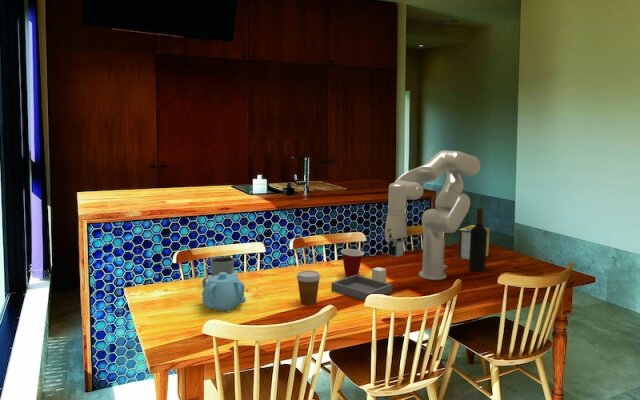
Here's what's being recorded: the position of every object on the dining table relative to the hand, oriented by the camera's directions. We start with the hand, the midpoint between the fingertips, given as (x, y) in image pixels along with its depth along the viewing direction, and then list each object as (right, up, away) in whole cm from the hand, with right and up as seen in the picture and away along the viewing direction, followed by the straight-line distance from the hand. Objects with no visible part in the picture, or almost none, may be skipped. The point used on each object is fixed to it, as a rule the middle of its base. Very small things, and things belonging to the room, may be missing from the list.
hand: (395, 253), depth 228 cm
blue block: (0, -1, 0) cm, 1 cm away
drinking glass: (-75, -15, +4) cm, 77 cm away
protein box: (+49, -7, +53) cm, 72 cm away
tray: (-15, -16, -3) cm, 22 cm away
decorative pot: (-70, -19, -21) cm, 76 cm away
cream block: (-6, -14, +10) cm, 18 cm away
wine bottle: (+44, -11, +29) cm, 54 cm away
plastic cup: (-18, -13, +18) cm, 29 cm away
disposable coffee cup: (-37, -18, -16) cm, 45 cm away
